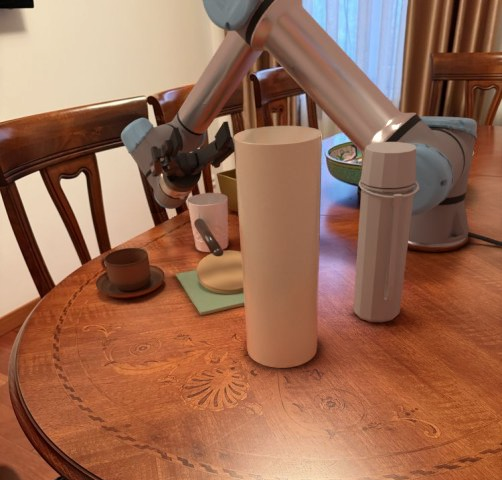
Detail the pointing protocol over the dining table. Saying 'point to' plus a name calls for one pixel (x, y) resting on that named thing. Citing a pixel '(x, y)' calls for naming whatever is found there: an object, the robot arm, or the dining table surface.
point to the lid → (219, 265)
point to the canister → (280, 240)
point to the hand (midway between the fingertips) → (203, 132)
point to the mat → (207, 295)
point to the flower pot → (229, 187)
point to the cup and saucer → (128, 274)
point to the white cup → (210, 217)
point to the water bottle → (384, 228)
